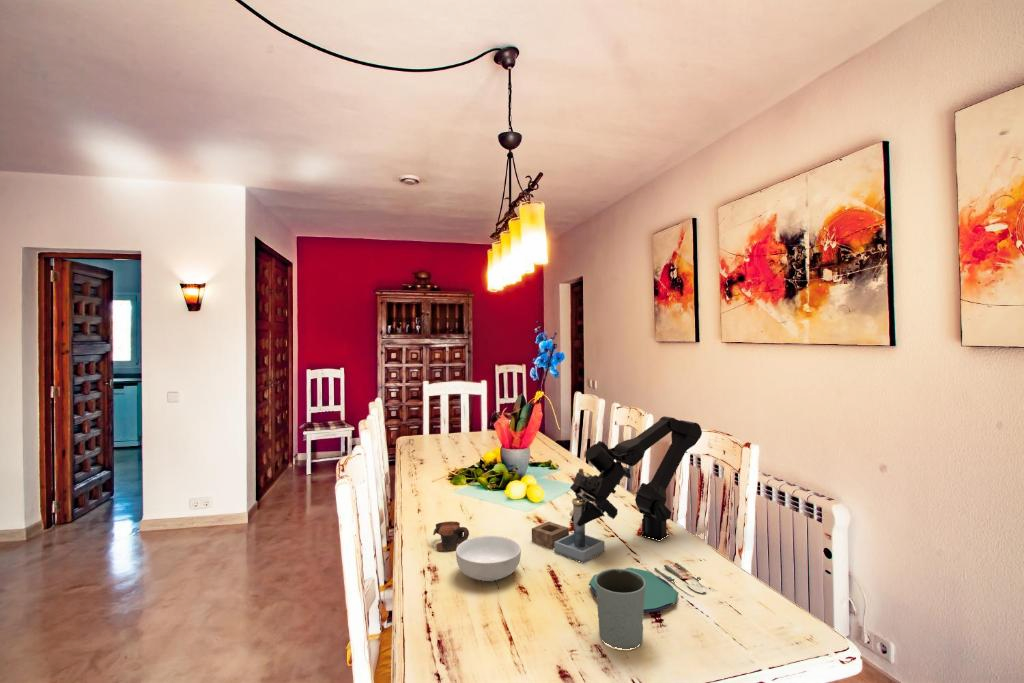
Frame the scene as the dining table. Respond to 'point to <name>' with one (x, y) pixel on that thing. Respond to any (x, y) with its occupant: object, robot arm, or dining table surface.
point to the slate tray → (579, 554)
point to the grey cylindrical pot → (620, 607)
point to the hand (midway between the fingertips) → (575, 523)
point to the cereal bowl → (488, 557)
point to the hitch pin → (577, 512)
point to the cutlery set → (654, 589)
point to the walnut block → (548, 534)
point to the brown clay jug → (450, 535)
